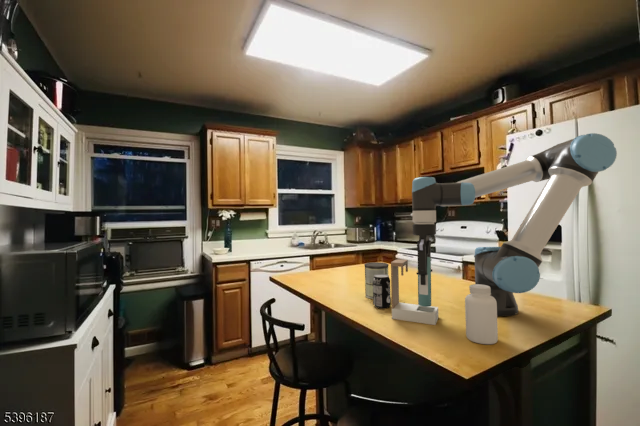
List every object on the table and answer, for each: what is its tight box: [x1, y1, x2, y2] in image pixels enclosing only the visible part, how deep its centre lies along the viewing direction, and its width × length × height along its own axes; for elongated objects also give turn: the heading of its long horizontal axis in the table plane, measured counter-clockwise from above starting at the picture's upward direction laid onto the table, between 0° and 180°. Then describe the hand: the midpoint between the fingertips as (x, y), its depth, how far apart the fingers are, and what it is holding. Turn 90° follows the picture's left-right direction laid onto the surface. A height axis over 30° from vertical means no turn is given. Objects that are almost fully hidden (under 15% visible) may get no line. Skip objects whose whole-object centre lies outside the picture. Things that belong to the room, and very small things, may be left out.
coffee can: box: [364, 261, 389, 300], centre depth 132 cm, size 10×10×14 cm
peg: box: [417, 257, 432, 307], centre depth 102 cm, size 4×4×16 cm
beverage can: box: [372, 274, 392, 310], centre depth 117 cm, size 7×7×12 cm
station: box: [390, 258, 439, 326], centre depth 104 cm, size 14×8×19 cm, turn 62°
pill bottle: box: [464, 283, 499, 345], centre depth 86 cm, size 8×8×15 cm
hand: (424, 292), depth 102 cm, fingers closed on peg, 4 cm apart
